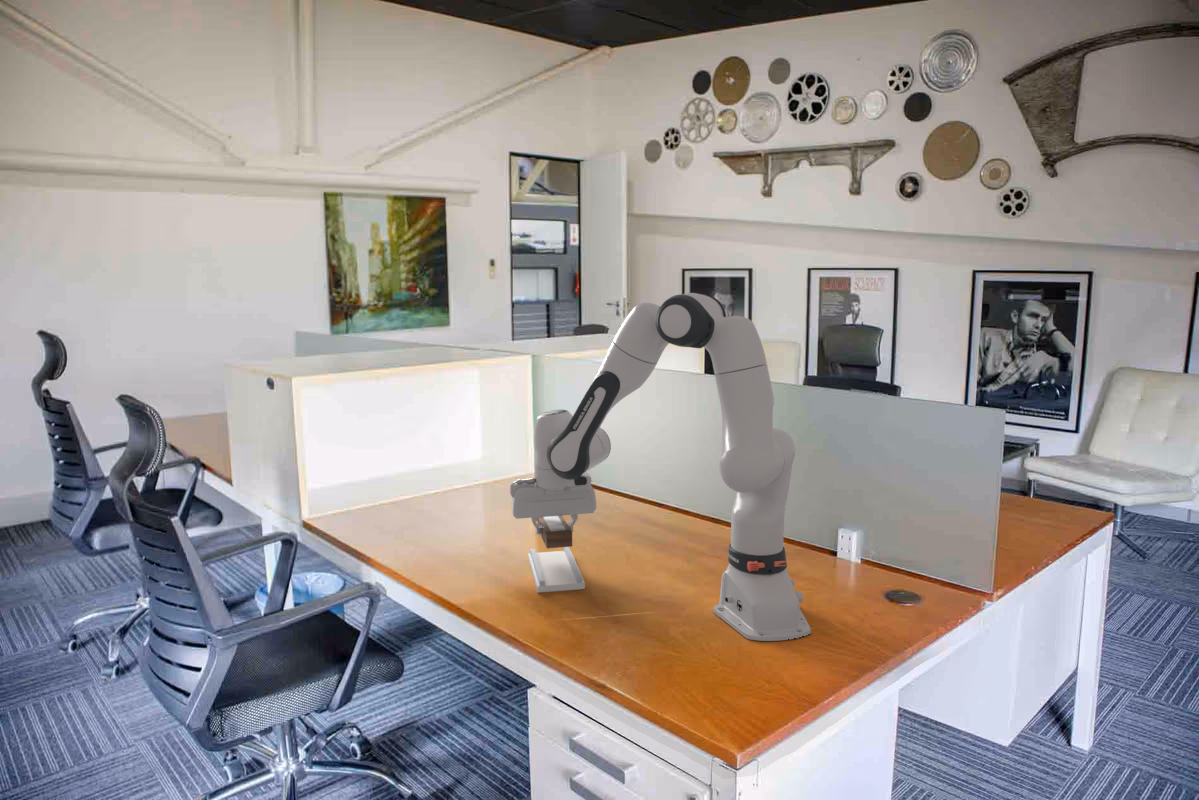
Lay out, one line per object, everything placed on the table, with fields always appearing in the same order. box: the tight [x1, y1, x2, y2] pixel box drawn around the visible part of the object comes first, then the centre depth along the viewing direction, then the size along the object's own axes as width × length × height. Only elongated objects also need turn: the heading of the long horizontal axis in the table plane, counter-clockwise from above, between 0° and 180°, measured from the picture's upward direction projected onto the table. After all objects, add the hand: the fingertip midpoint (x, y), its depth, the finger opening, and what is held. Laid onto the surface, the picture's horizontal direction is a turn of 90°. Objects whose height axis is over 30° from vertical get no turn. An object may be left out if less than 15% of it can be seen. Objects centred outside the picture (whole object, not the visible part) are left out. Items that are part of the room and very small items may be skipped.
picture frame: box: [537, 515, 573, 549], centre depth 197 cm, size 14×6×4 cm, turn 13°
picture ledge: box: [527, 547, 586, 594], centre depth 199 cm, size 22×11×3 cm, turn 10°
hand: (554, 532), depth 197 cm, fingers closed on picture frame, 6 cm apart
